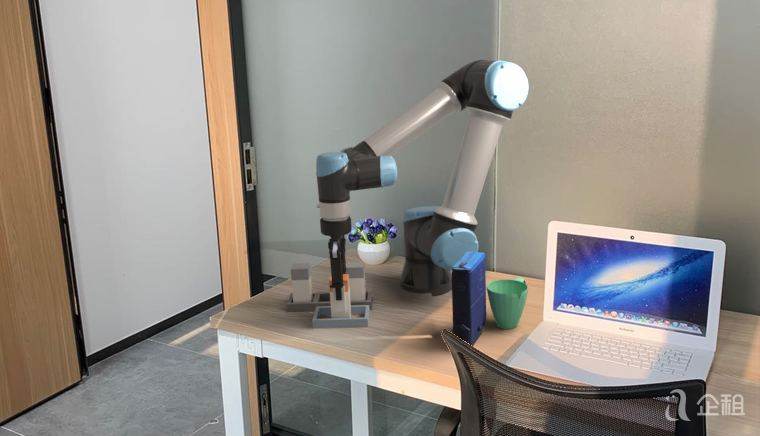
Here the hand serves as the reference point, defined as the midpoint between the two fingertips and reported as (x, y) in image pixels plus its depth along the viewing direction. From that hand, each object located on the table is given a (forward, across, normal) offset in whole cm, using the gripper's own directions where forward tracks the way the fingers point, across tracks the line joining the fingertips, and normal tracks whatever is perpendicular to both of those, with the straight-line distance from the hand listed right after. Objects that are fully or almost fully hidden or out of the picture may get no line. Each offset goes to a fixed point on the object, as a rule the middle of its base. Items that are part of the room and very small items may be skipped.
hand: (341, 306), depth 171 cm
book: (+5, +10, +31) cm, 33 cm away
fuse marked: (+3, 0, 0) cm, 3 cm away
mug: (+5, +1, +42) cm, 42 cm away
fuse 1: (+4, -10, -11) cm, 16 cm away
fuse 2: (+4, -10, +3) cm, 12 cm away
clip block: (+5, -10, -4) cm, 12 cm away
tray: (+5, 0, 0) cm, 5 cm away
